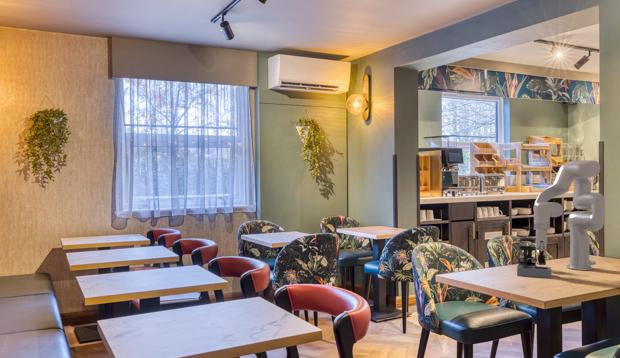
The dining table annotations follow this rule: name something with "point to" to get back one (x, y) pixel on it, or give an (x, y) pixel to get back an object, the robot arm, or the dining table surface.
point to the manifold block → (534, 271)
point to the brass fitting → (537, 257)
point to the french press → (527, 251)
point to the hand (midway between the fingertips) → (541, 261)
